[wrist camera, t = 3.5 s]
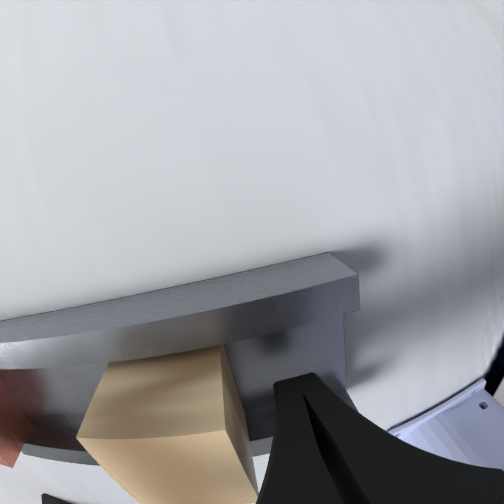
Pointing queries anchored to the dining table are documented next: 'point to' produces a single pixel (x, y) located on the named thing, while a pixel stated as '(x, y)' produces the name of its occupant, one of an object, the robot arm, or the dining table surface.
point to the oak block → (172, 429)
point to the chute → (175, 348)
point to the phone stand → (52, 500)
